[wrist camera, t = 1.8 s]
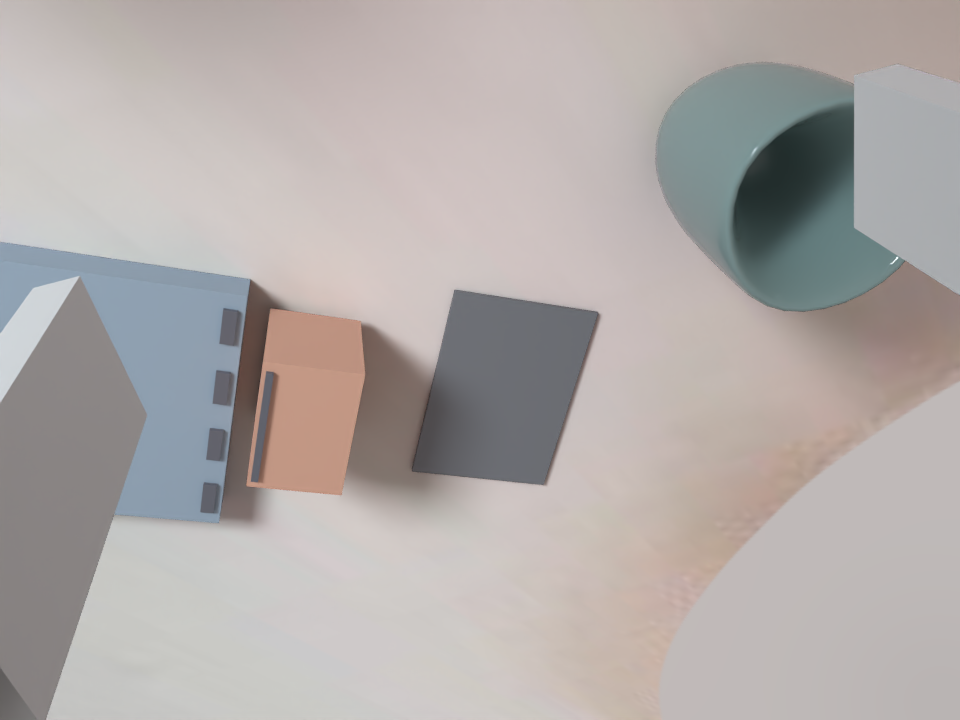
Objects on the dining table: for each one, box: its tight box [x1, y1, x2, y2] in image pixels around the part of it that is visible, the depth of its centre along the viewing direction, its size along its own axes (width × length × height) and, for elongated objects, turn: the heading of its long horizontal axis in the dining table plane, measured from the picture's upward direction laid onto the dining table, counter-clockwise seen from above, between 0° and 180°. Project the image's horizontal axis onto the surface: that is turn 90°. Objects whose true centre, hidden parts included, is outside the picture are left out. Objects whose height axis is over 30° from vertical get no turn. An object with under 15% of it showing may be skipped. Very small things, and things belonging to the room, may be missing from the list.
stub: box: [246, 308, 365, 495], centre depth 38 cm, size 4×6×5 cm, turn 168°
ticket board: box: [0, 242, 250, 523], centre depth 39 cm, size 10×12×2 cm
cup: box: [655, 62, 905, 312], centre depth 34 cm, size 8×8×10 cm
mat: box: [412, 290, 598, 485], centre depth 43 cm, size 7×10×1 cm
